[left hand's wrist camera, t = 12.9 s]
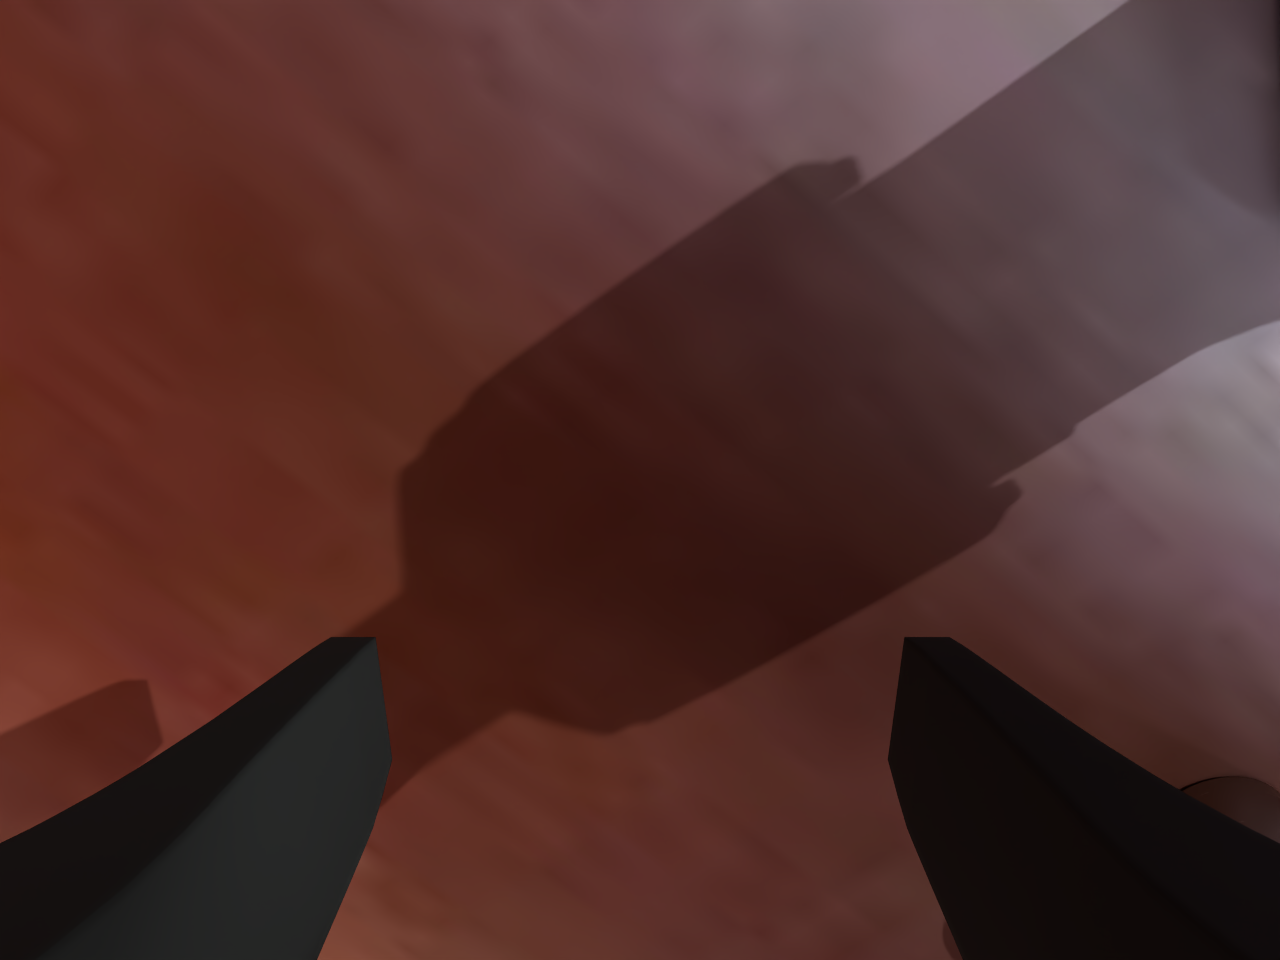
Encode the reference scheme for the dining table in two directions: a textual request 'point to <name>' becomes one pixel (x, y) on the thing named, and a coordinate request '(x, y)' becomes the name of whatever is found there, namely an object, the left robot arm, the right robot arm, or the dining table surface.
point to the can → (1242, 802)
